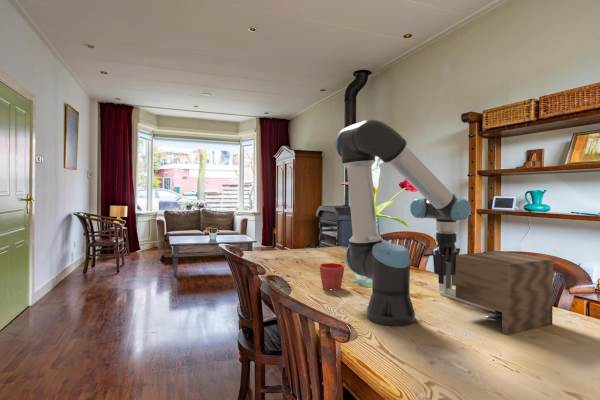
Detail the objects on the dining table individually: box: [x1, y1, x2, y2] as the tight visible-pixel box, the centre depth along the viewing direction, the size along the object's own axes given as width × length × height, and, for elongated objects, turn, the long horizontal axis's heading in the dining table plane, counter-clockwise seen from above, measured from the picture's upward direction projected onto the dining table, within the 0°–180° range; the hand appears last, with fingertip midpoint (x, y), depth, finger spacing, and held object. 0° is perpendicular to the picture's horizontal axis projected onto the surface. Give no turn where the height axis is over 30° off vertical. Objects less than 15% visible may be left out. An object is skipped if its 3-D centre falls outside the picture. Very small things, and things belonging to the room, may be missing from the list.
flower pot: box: [319, 262, 345, 291], centre depth 152 cm, size 11×11×10 cm
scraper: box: [438, 262, 499, 313], centre depth 132 cm, size 3×24×13 cm, turn 25°
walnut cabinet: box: [455, 250, 554, 336], centre depth 113 cm, size 21×18×20 cm
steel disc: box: [484, 312, 502, 322], centre depth 115 cm, size 5×5×1 cm
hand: (445, 291), depth 141 cm, fingers closed on scraper, 2 cm apart
